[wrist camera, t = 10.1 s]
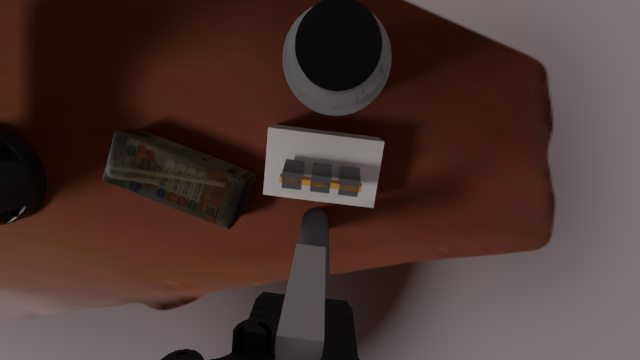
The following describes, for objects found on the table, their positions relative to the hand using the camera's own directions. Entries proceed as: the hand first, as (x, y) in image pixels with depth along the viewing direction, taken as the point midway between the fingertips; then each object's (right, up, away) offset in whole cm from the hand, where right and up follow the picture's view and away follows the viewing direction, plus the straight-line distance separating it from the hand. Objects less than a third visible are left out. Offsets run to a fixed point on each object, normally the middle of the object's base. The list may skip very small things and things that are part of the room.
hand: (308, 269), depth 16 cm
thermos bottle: (+2, +19, +28) cm, 34 cm away
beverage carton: (-19, +6, +32) cm, 38 cm away
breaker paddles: (+1, +6, +25) cm, 26 cm away
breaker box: (+1, +7, +31) cm, 32 cm away
